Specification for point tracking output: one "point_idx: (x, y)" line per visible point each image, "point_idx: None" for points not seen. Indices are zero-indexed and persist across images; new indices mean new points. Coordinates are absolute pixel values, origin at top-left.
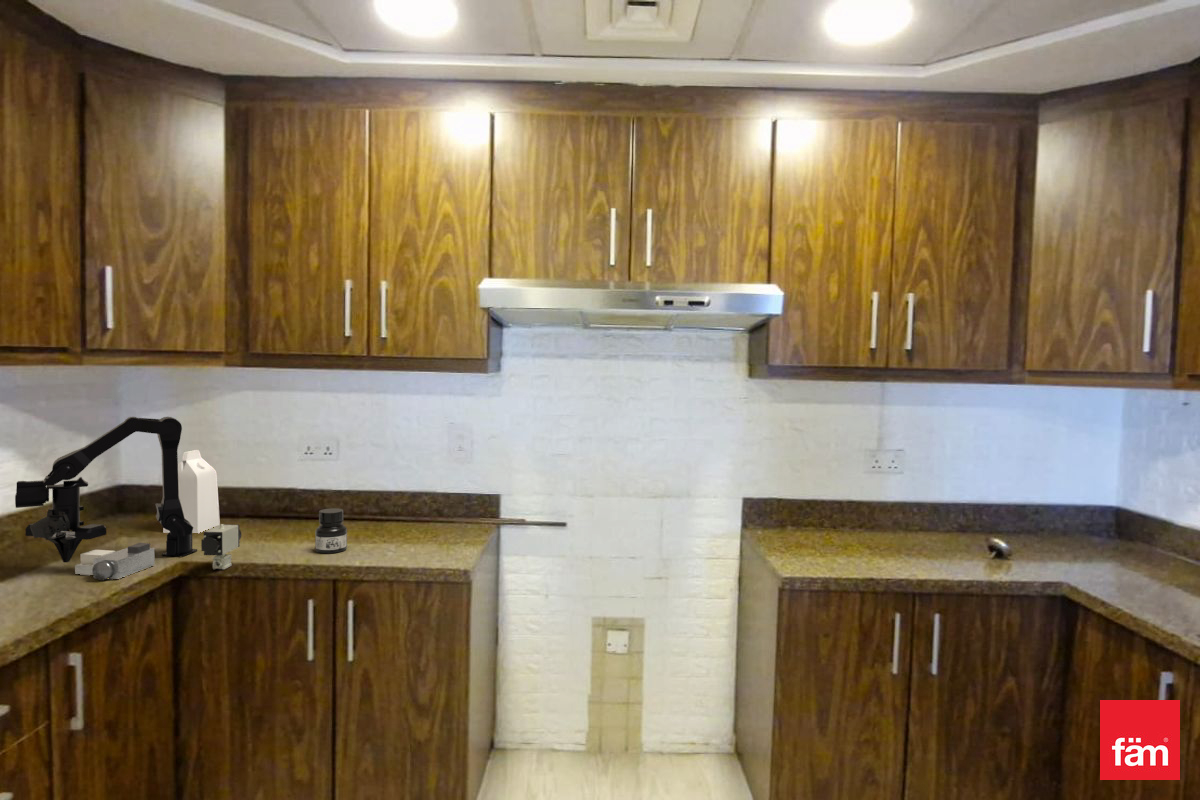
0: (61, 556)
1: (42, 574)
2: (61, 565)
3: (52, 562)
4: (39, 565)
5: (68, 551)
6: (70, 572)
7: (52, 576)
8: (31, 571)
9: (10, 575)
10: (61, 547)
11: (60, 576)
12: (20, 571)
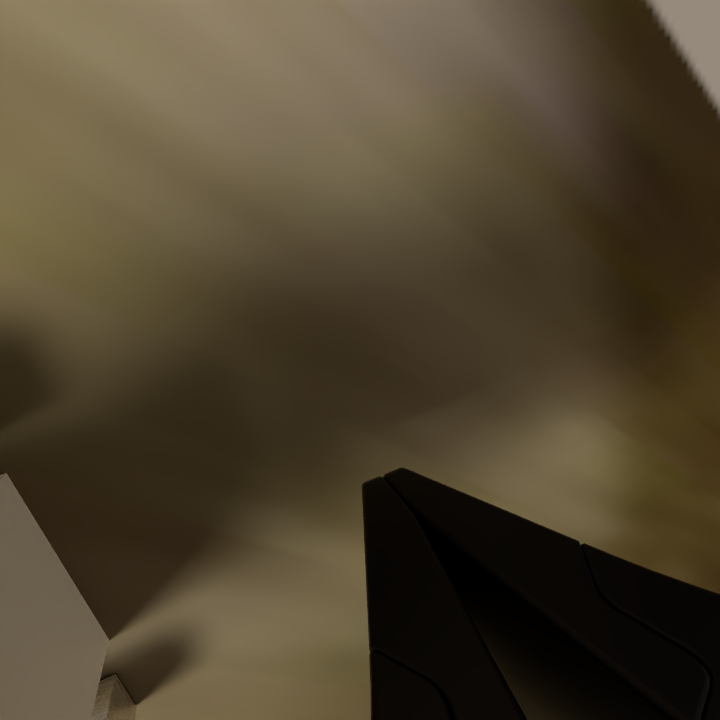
0: (458, 501)
1: (384, 191)
2: (500, 470)
3: (625, 467)
4: (652, 375)
5: (371, 661)
6: (147, 401)
7: (158, 172)
8: (582, 226)
9: (657, 27)
10: (582, 661)
11: (35, 220)
12: (666, 183)
